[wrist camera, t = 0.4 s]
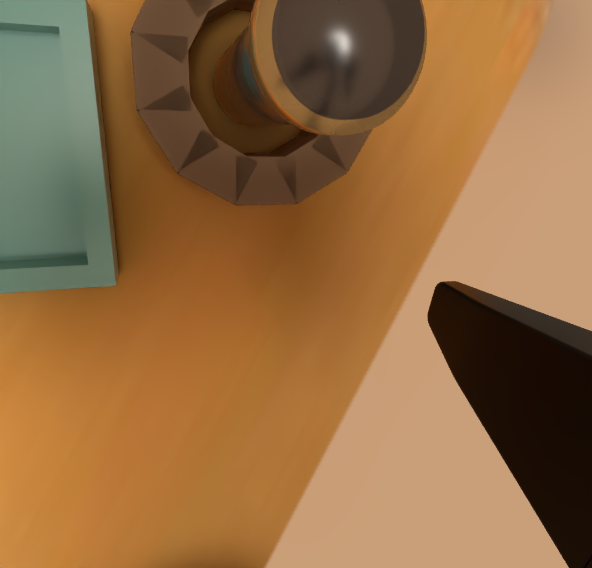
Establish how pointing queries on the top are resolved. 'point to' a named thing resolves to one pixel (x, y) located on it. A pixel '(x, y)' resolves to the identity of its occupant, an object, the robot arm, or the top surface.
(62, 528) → the top surface
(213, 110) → the top surface
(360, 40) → the steel pin
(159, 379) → the top surface
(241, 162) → the socket
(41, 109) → the tray
